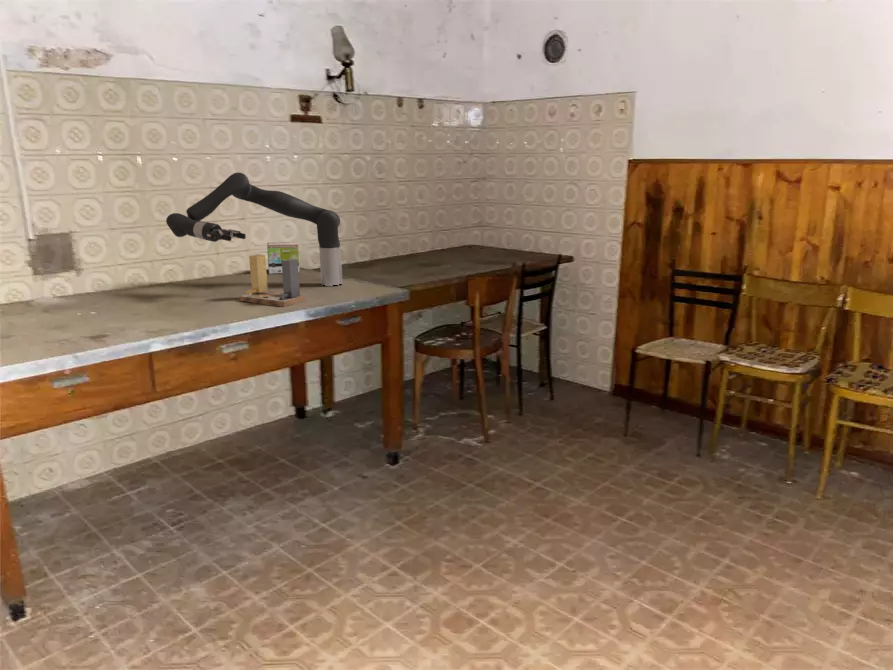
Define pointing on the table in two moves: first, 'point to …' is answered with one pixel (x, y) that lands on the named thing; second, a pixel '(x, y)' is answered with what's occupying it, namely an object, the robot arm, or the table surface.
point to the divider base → (269, 302)
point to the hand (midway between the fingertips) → (238, 237)
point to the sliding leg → (258, 274)
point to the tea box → (281, 255)
